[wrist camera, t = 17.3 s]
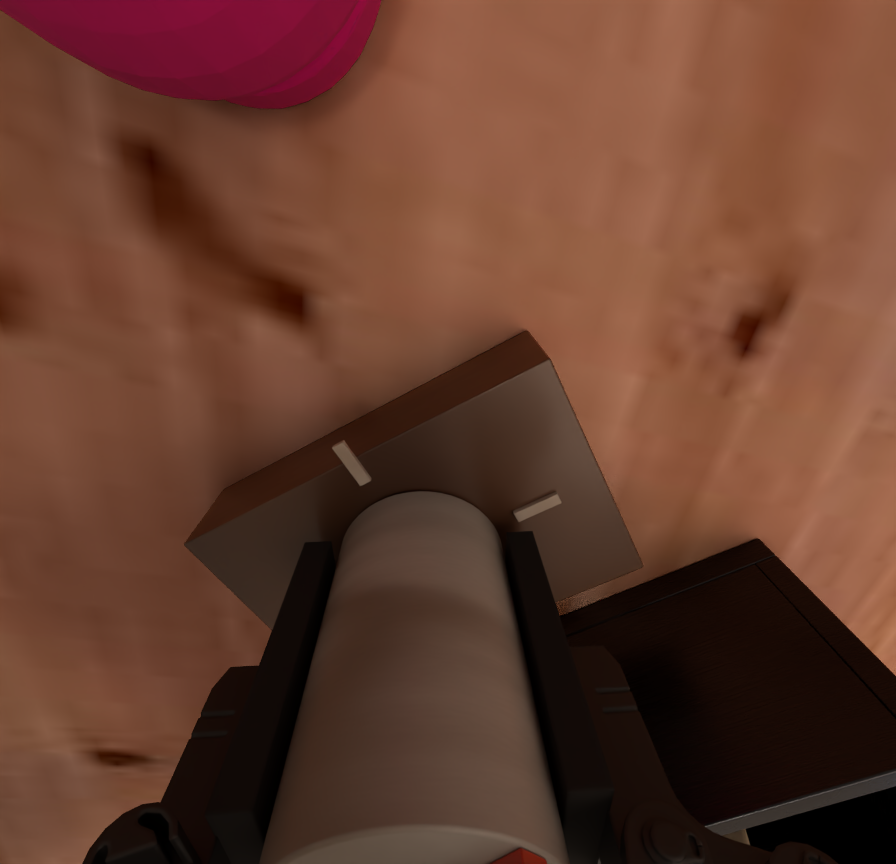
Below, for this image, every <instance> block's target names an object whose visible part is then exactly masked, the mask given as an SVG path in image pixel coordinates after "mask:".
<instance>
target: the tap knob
mask: <svg viewBox="0 0 896 864" xmlns="http://www.w3.org/2000/svg"><path fill="white" fill-rule="evenodd" d="M259 864H570V861H569V857H568V852H567V847H566V843H565V838H564V833H563V829H562V824H561V819H560V815H559V810H558V805H557V801H556V796H555V791H554V787H553V782H552V777H551V773H550V768H549V763H548V759H547V754H546V749H545V745H544V740H543V735H542V731H541V726H540V721H539V717H538V712H537V707H536V703H535V698H534V693H533V689H532V684H531V679H530V675H529V670H528V665H527V661H526V656H525V651H524V647H523V642H522V637H521V633H520V628H519V623H518V619H517V614H516V609H515V605H514V600H513V596H512V591H511V586H510V582H509V577H508V572H507V568H506V563H505V558H504V554H503V549H502V544H501V540H500V537H499V535H498V532H497V530H496V529H495V527H494V525H493V524H492V523H491V521H490V520H489V519H488V518H487V517H486V516H485V515H484V514H483V513H482V512H481V511H480V510H479V509H477V508H476V507H474V506H473V505H471V504H470V503H468V502H466V501H464V500H462V499H459V498H457V497H454V496H451V495H447V494H443V493H437V492H429V491H416V492H406V493H401V494H397V495H393V496H390V497H387V498H385V499H383V500H380V501H378V502H376V503H375V504H373V505H371V506H370V507H368V508H367V509H366V510H364V511H363V512H362V513H361V514H359V515H358V517H357V518H356V519H355V520H354V521H353V522H352V523H351V525H350V526H349V528H348V529H347V531H346V534H345V536H344V538H343V542H342V545H341V549H340V553H339V557H338V561H337V564H336V568H335V572H334V576H333V580H332V584H331V588H330V591H329V595H328V599H327V603H326V607H325V611H324V615H323V618H322V622H321V626H320V630H319V634H318V638H317V642H316V645H315V649H314V653H313V657H312V661H311V665H310V669H309V672H308V676H307V680H306V684H305V688H304V692H303V696H302V699H301V703H300V707H299V711H298V715H297V719H296V722H295V726H294V730H293V734H292V738H291V742H290V746H289V749H288V753H287V757H286V761H285V765H284V769H283V773H282V776H281V780H280V784H279V788H278V792H277V796H276V800H275V803H274V807H273V811H272V815H271V819H270V823H269V827H268V830H267V834H266V838H265V842H264V846H263V850H262V854H261V857H260V861H259Z"/></svg>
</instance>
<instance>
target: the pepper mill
mask: <svg viewBox="0 0 896 864" xmlns="http://www.w3.org/2000/svg"><path fill="white" fill-rule="evenodd" d="M380 3H381V0H0V10H1V11H3V12H4V13H6V14H7V15H9V16H10V17H12V18H13V19H15V20H16V21H18V22H19V23H21V24H22V25H24V26H25V27H27V28H28V29H30V30H31V31H33V32H34V33H36V34H37V35H39V36H40V37H42V38H43V39H45V40H46V41H48V42H49V43H51V44H52V45H54V46H56V47H57V48H59V49H61V50H63V51H65V52H66V53H68V54H70V55H72V56H73V57H75V58H77V59H79V60H81V61H82V62H84V63H86V64H88V65H89V66H91V67H93V68H95V69H96V70H98V71H100V72H102V73H104V74H105V75H107V76H109V77H112V78H114V79H117V80H119V81H122V82H124V83H127V84H129V85H132V86H134V87H136V88H139V89H141V90H145V91H149V92H153V93H158V94H162V95H166V96H171V97H175V98H182V99H197V100H213V101H217V100H223V99H224V100H226V101H228V102H231V103H235V104H239V105H243V106H247V107H254V108H286V107H290V106H293V105H297V104H301V103H304V102H307V101H309V100H311V99H313V98H314V97H316V96H318V95H320V94H321V93H323V92H325V91H327V90H329V89H330V88H332V87H333V86H334V85H335V84H336V83H337V82H338V81H339V80H340V79H341V78H342V77H343V76H344V75H345V74H346V73H347V72H348V71H349V69H350V68H351V67H352V65H353V64H354V63H355V61H356V60H357V59H358V57H359V56H360V55H361V53H362V50H363V48H364V46H365V44H366V42H367V40H368V38H369V36H370V33H371V31H372V29H373V26H374V23H375V20H376V17H377V14H378V11H379V7H380Z"/></svg>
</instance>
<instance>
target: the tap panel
mask: <svg viewBox="0 0 896 864" xmlns="http://www.w3.org/2000/svg"><path fill="white" fill-rule="evenodd" d="M416 491H429V492H437V493H443V494H447V495H451V496H454V497H457V498H459V499H462V500H464V501H466V502H468V503H470V504H471V505H473V506H474V507H476V508H477V509H479V510H480V511H481V512H482V513H483V514H484V515H485V516H486V517H487V518H488V519H489V520H490V521H491V523H492V524H493V525H494V527H495V529H496V530H497V532H498V535H499V537H500V540H501V544H502V549H503V554H504V558H505V563H506V532H519V531H533V534H534V537H535V540H536V544H537V547H538V550H539V553H540V556H541V559H542V562H543V566H544V569H545V572H546V575H547V578H548V581H549V584H550V588H551V591H552V594H553V597H554V600H555V603H556V602H558V601H561V600H563V599H566V598H568V597H570V596H573V595H575V594H578V593H580V592H583V591H585V590H588V589H590V588H593V587H595V586H598V585H600V584H603V583H605V582H608V581H610V580H613V579H615V578H618V577H620V576H623V575H625V574H628V573H630V572H632V571H635V570H637V569H640V568H642V567H643V563H642V561H641V559H640V557H639V554H638V552H637V550H636V548H635V545H634V543H633V541H632V539H631V537H630V534H629V532H628V530H627V528H626V526H625V523H624V521H623V519H622V517H621V514H620V512H619V510H618V508H617V506H616V503H615V501H614V499H613V497H612V494H611V492H610V490H609V488H608V486H607V483H606V481H605V479H604V477H603V475H602V472H601V470H600V468H599V466H598V463H597V461H596V459H595V457H594V455H593V452H592V450H591V448H590V446H589V443H588V441H587V439H586V437H585V435H584V432H583V430H582V428H581V426H580V424H579V421H578V419H577V417H576V415H575V412H574V410H573V408H572V406H571V404H570V401H569V399H568V397H567V395H566V393H565V390H564V388H563V386H562V384H561V381H560V379H559V377H558V375H557V373H556V370H555V368H554V366H553V364H552V361H551V359H550V358H549V357H548V355H547V354H546V353H545V352H544V350H543V349H542V348H541V347H540V345H539V344H538V343H537V342H536V340H535V339H534V338H533V337H532V335H531V334H530V333H529V332H528V331H525V332H523V333H521V334H519V335H517V336H515V337H513V338H511V339H510V340H508V341H506V342H504V343H502V344H500V345H498V346H496V347H494V348H492V349H491V350H489V351H487V352H485V353H483V354H481V355H479V356H477V357H475V358H473V359H471V360H470V361H468V362H466V363H464V364H462V365H460V366H458V367H456V368H454V369H452V370H451V371H449V372H447V373H445V374H443V375H441V376H439V377H437V378H435V379H433V380H432V381H430V382H428V383H426V384H424V385H422V386H420V387H418V388H416V389H414V390H412V391H411V392H409V393H407V394H405V395H403V396H401V397H399V398H397V399H395V400H393V401H392V402H390V403H388V404H386V405H384V406H382V407H380V408H378V409H376V410H374V411H372V412H371V413H369V414H367V415H365V416H363V417H361V418H359V419H357V420H355V421H353V422H352V423H350V424H348V425H346V426H344V427H342V428H340V429H338V430H336V431H334V432H333V433H331V434H329V435H327V436H325V437H323V438H321V439H319V440H317V441H315V442H313V443H312V444H310V445H308V446H306V447H304V448H302V449H300V450H298V451H296V452H294V453H293V454H291V455H289V456H287V457H285V458H283V459H281V460H279V461H277V462H275V463H273V464H272V465H270V466H268V467H266V468H264V469H262V470H260V471H258V472H256V473H254V474H253V475H251V476H249V477H247V478H245V479H243V480H241V481H239V482H237V483H235V484H234V485H232V486H230V487H228V488H226V489H224V490H223V491H222V492H221V494H220V495H219V497H218V498H217V499H216V501H215V502H214V503H213V505H212V506H211V508H210V509H209V510H208V512H207V513H206V514H205V516H204V517H203V519H202V520H201V521H200V523H199V524H198V525H197V527H196V528H195V530H194V531H193V532H192V534H191V535H190V536H189V538H188V539H187V541H186V542H185V543H184V546H185V547H186V548H187V549H189V550H190V551H191V552H192V553H193V554H194V555H195V556H196V557H197V558H198V559H199V560H200V561H201V562H202V563H203V564H204V565H205V566H206V567H207V568H208V569H209V570H210V571H211V572H212V573H213V574H214V575H215V576H216V577H217V578H218V579H220V580H221V581H222V582H223V583H224V584H225V585H226V586H227V587H228V588H229V589H230V590H231V591H232V592H233V593H234V594H235V595H236V596H237V597H238V598H239V599H240V600H241V601H242V602H243V603H244V604H245V605H246V606H247V607H248V608H249V609H251V610H252V611H253V612H254V613H255V614H256V615H257V616H258V617H259V618H260V619H261V620H262V621H263V622H264V623H265V624H266V625H267V626H268V627H269V628H270V629H271V630H273V627H274V624H275V621H276V619H277V616H278V613H279V611H280V608H281V605H282V603H283V600H284V597H285V594H286V592H287V589H288V586H289V584H290V581H291V578H292V576H293V573H294V570H295V567H296V565H297V562H298V559H299V557H300V554H301V551H302V549H303V546H304V543H305V542H322V541H331V542H332V548H333V553H334V558H335V564H337V561H338V557H339V553H340V549H341V545H342V542H343V538H344V536H345V534H346V531H347V529H348V528H349V526H350V525H351V523H352V522H353V521H354V520H355V519H356V518H357V517H358V515H359V514H361V513H362V512H363V511H364V510H366V509H367V508H368V507H370V506H371V505H373V504H375V503H376V502H378V501H380V500H383V499H385V498H387V497H390V496H393V495H397V494H401V493H406V492H416Z"/></svg>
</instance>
